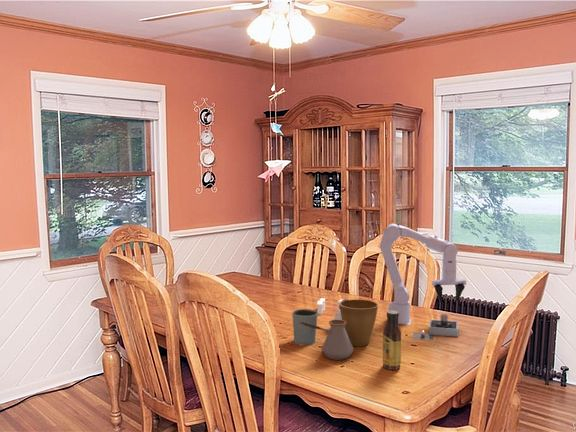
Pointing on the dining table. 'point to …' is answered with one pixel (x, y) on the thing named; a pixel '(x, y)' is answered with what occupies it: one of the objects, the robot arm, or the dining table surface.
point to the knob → (444, 322)
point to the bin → (443, 331)
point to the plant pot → (359, 320)
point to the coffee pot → (335, 340)
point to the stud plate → (422, 336)
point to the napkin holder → (321, 306)
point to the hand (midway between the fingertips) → (448, 301)
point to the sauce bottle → (392, 342)
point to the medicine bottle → (338, 313)
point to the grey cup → (304, 333)
